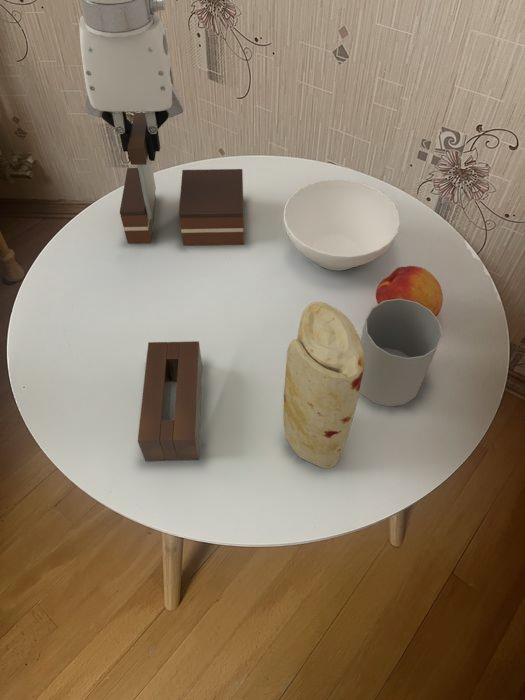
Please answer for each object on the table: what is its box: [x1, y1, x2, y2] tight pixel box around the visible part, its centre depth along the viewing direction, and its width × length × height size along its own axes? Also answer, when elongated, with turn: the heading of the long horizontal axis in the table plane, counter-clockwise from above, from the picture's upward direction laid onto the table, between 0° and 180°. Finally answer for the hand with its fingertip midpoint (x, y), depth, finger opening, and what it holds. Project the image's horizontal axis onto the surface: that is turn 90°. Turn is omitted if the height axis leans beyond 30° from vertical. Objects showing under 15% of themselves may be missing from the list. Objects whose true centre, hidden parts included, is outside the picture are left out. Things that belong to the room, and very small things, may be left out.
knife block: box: [137, 340, 203, 462], centre depth 65 cm, size 6×13×5 cm, turn 2°
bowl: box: [283, 178, 401, 272], centre depth 80 cm, size 16×16×7 cm
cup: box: [359, 299, 443, 408], centre depth 66 cm, size 8×8×10 cm
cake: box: [178, 168, 245, 246], centre depth 84 cm, size 9×10×6 cm
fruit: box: [375, 265, 444, 318], centre depth 73 cm, size 8×8×8 cm
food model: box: [282, 301, 364, 469], centre depth 57 cm, size 10×7×20 cm
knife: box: [128, 112, 157, 219], centre depth 78 cm, size 2×8×12 cm, turn 2°
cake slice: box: [119, 167, 157, 245], centre depth 85 cm, size 4×10×6 cm, turn 2°
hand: (142, 154), depth 76 cm, fingers closed on knife, 2 cm apart
